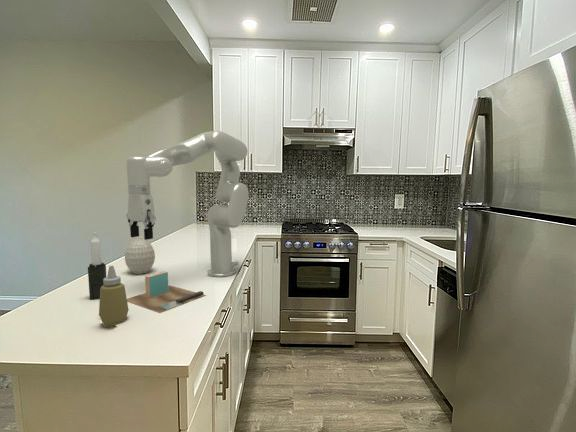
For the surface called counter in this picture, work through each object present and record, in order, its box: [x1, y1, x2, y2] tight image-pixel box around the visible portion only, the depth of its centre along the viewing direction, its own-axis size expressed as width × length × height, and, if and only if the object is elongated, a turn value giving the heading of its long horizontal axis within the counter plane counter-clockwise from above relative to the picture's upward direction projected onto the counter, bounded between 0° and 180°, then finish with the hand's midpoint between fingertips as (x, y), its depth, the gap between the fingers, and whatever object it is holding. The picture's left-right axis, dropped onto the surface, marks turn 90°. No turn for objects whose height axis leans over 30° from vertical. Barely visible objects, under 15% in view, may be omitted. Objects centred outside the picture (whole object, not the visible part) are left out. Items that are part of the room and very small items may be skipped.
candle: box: [87, 231, 107, 301], centre depth 124 cm, size 5×5×25 cm
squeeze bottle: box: [98, 265, 130, 328], centre depth 105 cm, size 8×8×18 cm
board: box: [127, 284, 207, 314], centre depth 125 cm, size 20×21×1 cm
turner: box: [159, 290, 204, 311], centre depth 122 cm, size 17×4×1 cm, turn 146°
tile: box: [144, 270, 169, 299], centre depth 127 cm, size 8×2×8 cm, turn 146°
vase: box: [124, 235, 156, 275], centre depth 161 cm, size 13×13×17 cm
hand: (141, 237), depth 130 cm, fingers open, 7 cm apart
